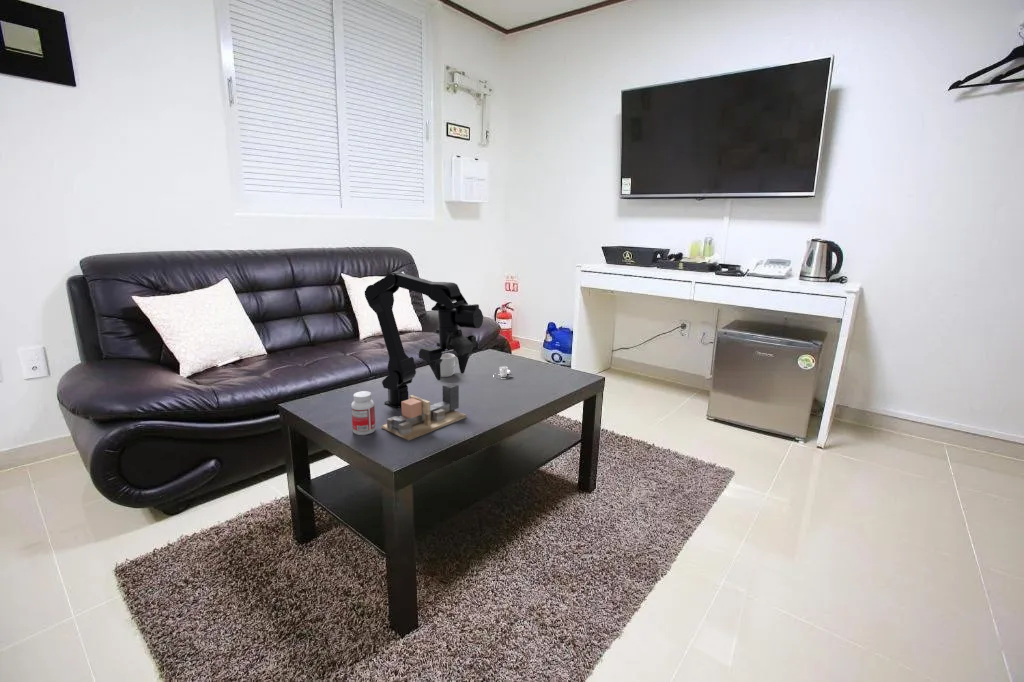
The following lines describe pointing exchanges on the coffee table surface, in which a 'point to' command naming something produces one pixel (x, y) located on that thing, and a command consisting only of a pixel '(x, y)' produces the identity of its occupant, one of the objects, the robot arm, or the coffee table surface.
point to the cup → (447, 364)
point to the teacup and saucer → (504, 371)
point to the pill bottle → (363, 413)
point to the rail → (426, 426)
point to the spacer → (411, 408)
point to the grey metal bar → (435, 406)
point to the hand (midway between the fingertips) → (450, 376)
